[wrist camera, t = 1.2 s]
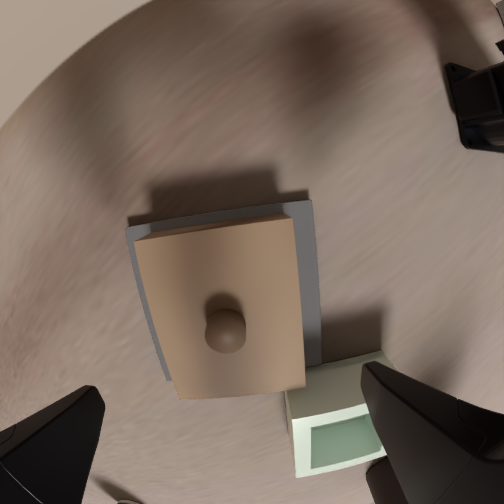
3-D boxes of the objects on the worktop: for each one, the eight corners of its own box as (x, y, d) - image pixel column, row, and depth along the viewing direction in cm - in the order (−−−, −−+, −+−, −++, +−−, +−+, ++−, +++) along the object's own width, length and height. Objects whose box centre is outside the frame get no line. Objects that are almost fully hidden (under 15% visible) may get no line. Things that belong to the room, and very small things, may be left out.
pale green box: (381, 350, 17) (410, 388, 12) (371, 415, 18) (390, 453, 14) (282, 371, 17) (292, 419, 12) (288, 434, 18) (296, 478, 14)
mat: (309, 199, 14) (311, 199, 14) (319, 358, 17) (321, 363, 16) (128, 226, 15) (124, 228, 14) (168, 375, 17) (166, 380, 16)
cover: (284, 213, 14) (296, 220, 11) (298, 362, 16) (309, 398, 13) (151, 232, 14) (124, 246, 11) (186, 374, 16) (176, 411, 13)
